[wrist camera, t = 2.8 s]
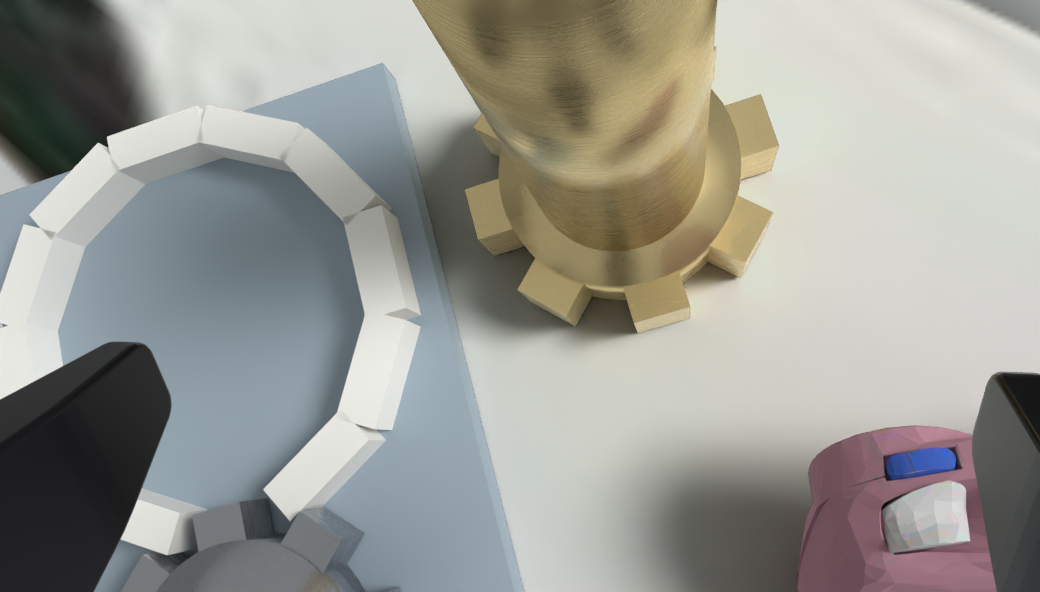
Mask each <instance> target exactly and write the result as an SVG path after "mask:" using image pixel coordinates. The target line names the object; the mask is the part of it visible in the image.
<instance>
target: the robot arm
mask: <svg viewBox="0 0 1040 592" xmlns="http://www.w3.org/2000/svg"><path fill="white" fill-rule="evenodd" d="M171 406H172V401H171V395H170V392H169V390H168V388H167V385H166V383H165V381H164V378H163V376H162V374H161V371H160V369H159V367H158V365H157V362H156V360H155V358H154V355H153V353H152V351H151V350H150V349H149V348H148V347H147V346H146V345H145V344H143V343H140V342H122V341H114V342H108V343H106V344H103V345H101V346H100V347H98V348H96V349H94V350H92V351H90V352H88V353H86V354H85V355H83V356H81V357H79V358H77V359H75V360H73V361H71V362H70V363H68V364H66V365H64V366H62V367H60V368H58V369H56V370H55V371H53V372H51V373H49V374H47V375H45V376H43V377H41V378H40V379H38V380H36V381H34V382H32V383H30V384H28V385H26V386H25V387H23V388H21V389H19V390H17V391H15V392H13V393H11V394H9V395H8V396H6V397H4V398H2V399H0V592H94V591H95V589H96V587H97V585H98V583H99V581H100V579H101V577H102V575H103V573H104V571H105V569H106V567H107V565H108V563H109V561H110V559H111V558H112V556H113V554H114V552H115V550H116V548H117V546H118V544H119V541H120V539H121V537H122V535H123V533H124V531H125V529H126V527H127V524H128V522H129V519H130V517H131V515H132V512H133V510H134V507H135V505H136V502H137V500H138V497H139V495H140V492H141V489H142V487H143V484H144V482H145V479H146V477H147V474H148V471H149V469H150V466H151V464H152V461H153V459H154V456H155V453H156V451H157V448H158V446H159V443H160V441H161V438H162V435H163V433H164V430H165V428H166V425H167V422H168V420H169V417H170V414H171ZM972 458H973V464H974V469H975V475H976V480H977V486H978V491H979V497H980V503H981V508H982V514H983V519H984V525H985V530H986V536H987V542H988V547H989V553H990V558H991V564H992V569H993V575H994V580H995V585H996V590H997V592H1040V374H1037V373H1024V372H997V373H995V374H994V375H992V376H991V378H990V379H989V381H988V383H987V386H986V389H985V392H984V396H983V399H982V403H981V406H980V410H979V413H978V417H977V420H976V424H975V428H974V431H973V436H972Z"/></svg>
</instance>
